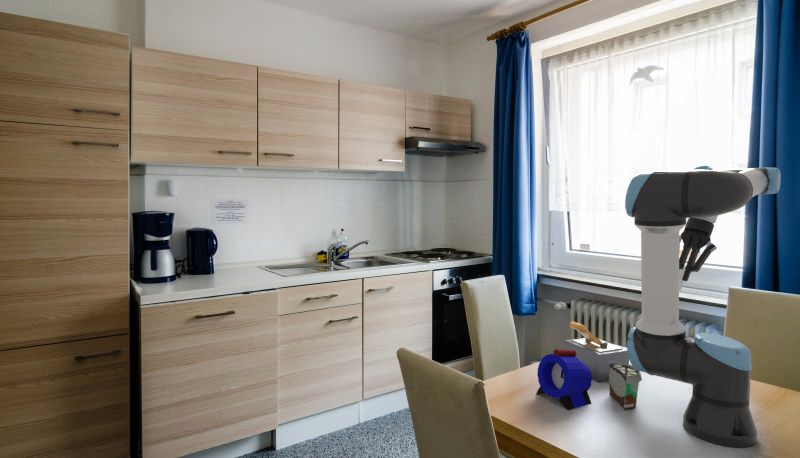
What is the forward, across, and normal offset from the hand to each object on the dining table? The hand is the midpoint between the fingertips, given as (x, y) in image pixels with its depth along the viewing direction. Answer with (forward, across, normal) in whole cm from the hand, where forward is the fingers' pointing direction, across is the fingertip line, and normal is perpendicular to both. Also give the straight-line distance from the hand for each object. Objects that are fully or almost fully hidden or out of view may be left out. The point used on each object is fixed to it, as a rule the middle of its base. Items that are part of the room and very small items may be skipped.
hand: (676, 289), depth 152 cm
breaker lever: (+25, +14, +9) cm, 30 cm away
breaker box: (+35, +13, +5) cm, 37 cm away
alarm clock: (+43, +7, +30) cm, 53 cm away
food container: (+37, -6, +20) cm, 43 cm away
